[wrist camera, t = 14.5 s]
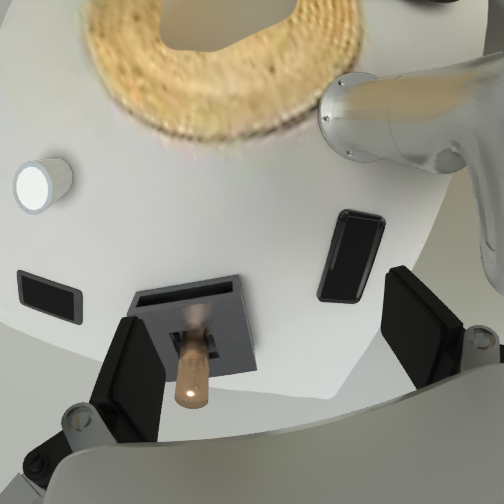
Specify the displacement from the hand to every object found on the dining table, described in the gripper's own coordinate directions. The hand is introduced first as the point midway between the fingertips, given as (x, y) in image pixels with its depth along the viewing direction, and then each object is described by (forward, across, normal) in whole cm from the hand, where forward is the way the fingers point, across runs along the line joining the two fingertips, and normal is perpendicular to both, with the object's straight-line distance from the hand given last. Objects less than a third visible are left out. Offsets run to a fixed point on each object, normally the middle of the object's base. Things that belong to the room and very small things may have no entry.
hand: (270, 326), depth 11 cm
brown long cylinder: (+30, +10, +21) cm, 38 cm away
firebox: (+30, +10, +21) cm, 38 cm away
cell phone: (+31, +35, +12) cm, 48 cm away
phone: (+31, -15, +15) cm, 37 cm away
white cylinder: (+31, +25, -6) cm, 40 cm away
